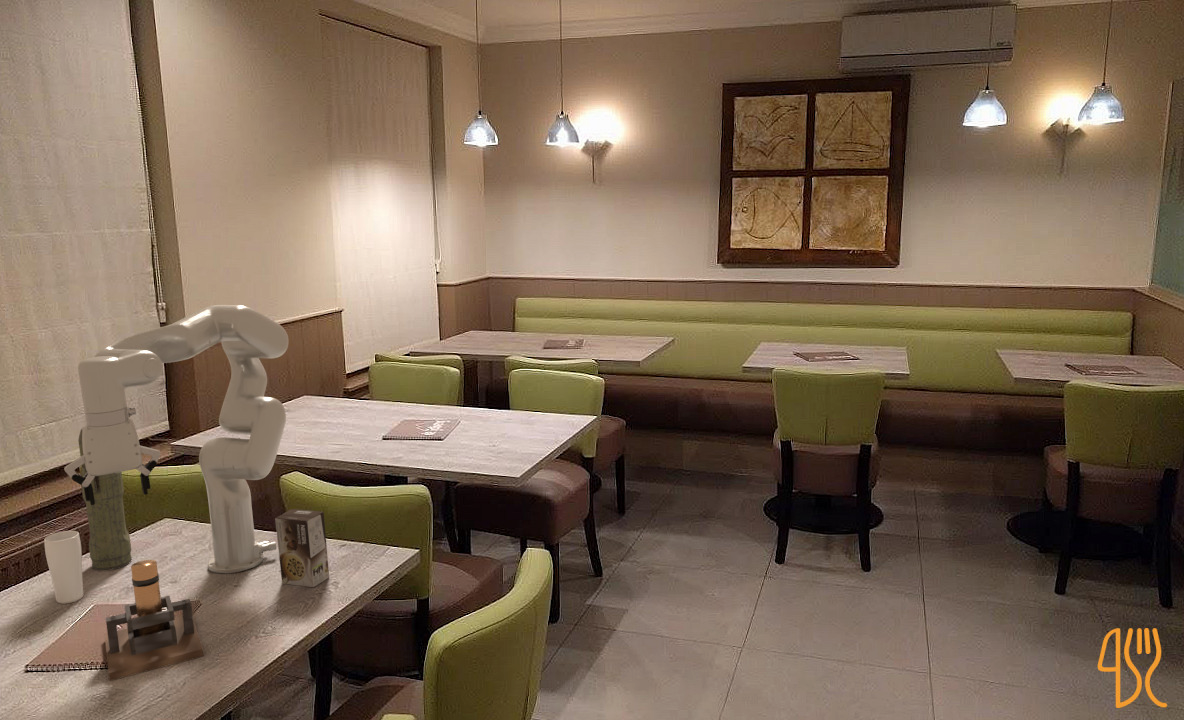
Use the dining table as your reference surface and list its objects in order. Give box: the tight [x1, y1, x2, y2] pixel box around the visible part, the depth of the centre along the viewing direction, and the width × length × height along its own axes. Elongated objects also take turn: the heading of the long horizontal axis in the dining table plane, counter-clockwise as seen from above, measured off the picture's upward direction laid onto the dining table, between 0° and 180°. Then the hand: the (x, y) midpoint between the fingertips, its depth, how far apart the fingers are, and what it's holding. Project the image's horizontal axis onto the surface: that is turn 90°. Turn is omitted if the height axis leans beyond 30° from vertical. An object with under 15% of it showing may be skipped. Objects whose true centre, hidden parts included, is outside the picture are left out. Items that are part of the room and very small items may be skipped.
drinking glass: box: [43, 530, 85, 605], centre depth 191 cm, size 7×7×15 cm
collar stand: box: [104, 595, 205, 681], centre depth 168 cm, size 16×18×8 cm
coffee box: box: [274, 508, 330, 588], centre depth 198 cm, size 9×6×16 cm
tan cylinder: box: [130, 559, 165, 636], centre depth 168 cm, size 5×5×16 cm
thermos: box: [78, 427, 133, 572], centre depth 209 cm, size 9×12×35 cm
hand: (119, 498), depth 176 cm, fingers open, 9 cm apart
